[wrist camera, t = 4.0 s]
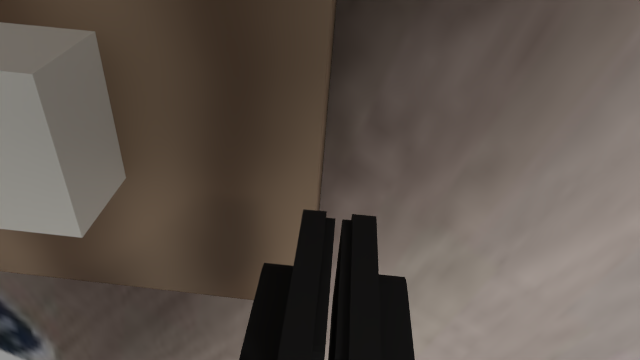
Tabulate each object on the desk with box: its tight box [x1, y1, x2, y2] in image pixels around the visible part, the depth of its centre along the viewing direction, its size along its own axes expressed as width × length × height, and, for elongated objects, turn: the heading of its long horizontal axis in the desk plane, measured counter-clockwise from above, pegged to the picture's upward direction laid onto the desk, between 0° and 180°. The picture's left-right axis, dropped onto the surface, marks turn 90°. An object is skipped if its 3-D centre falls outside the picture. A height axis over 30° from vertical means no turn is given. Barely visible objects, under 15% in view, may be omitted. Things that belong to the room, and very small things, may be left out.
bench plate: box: [0, 0, 337, 300], centre depth 16 cm, size 18×16×3 cm
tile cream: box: [0, 22, 126, 238], centre depth 14 cm, size 5×5×3 cm
